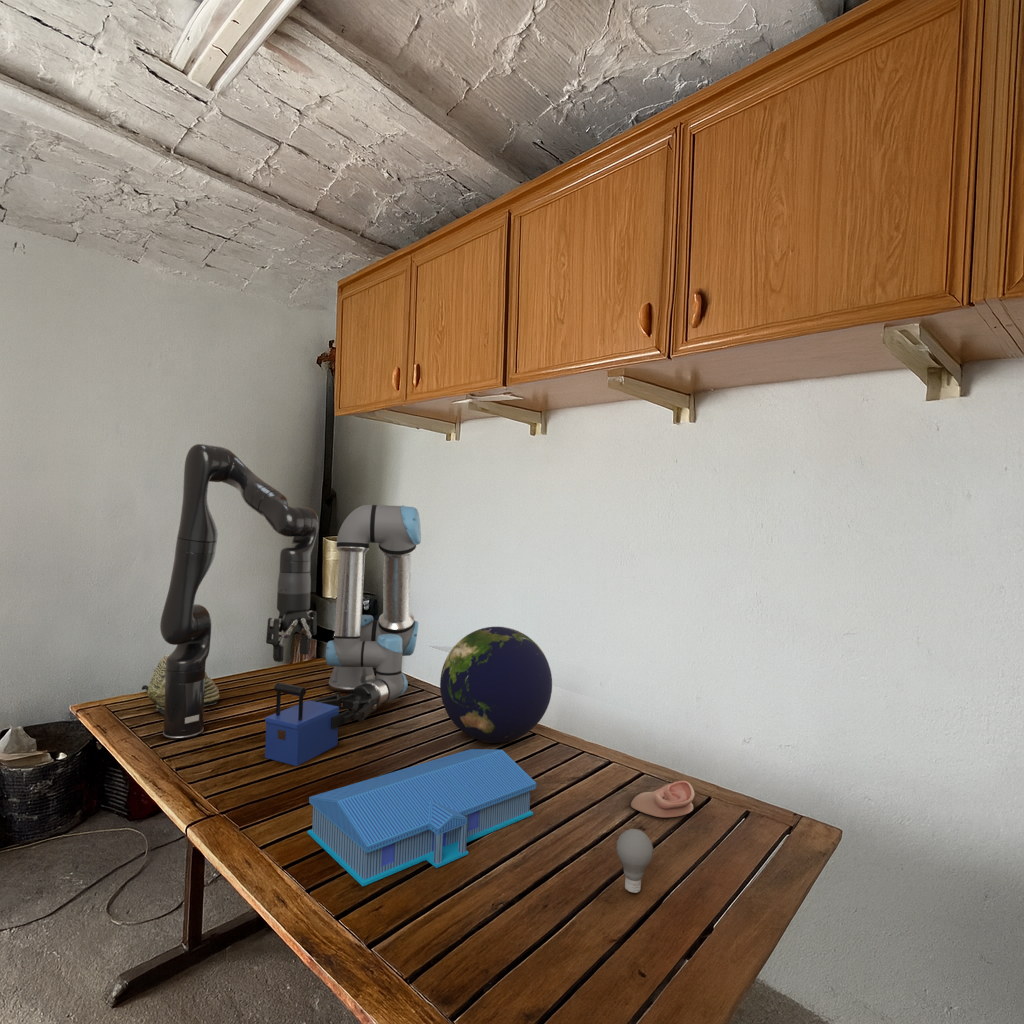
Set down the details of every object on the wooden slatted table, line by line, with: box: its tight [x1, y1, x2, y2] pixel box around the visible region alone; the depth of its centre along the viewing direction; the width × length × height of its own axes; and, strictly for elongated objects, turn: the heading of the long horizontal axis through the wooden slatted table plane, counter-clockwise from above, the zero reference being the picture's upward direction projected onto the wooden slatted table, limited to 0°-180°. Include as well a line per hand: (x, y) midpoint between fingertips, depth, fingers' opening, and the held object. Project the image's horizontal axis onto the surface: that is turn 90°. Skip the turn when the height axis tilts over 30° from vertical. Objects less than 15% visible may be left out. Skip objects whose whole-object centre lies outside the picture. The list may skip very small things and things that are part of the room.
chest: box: [264, 710, 340, 767], centre depth 157 cm, size 15×10×9 cm
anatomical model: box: [630, 780, 695, 818], centre depth 136 cm, size 13×4×12 cm
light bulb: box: [615, 828, 654, 894], centre depth 106 cm, size 6×6×10 cm
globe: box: [439, 625, 553, 744], centre depth 169 cm, size 30×30×30 cm
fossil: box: [147, 654, 221, 711], centre depth 185 cm, size 9×18×15 cm, turn 132°
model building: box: [307, 748, 538, 887], centre depth 123 cm, size 39×24×10 cm, turn 132°
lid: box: [264, 682, 340, 729], centre depth 156 cm, size 15×10×9 cm, turn 156°
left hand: (291, 657), depth 152 cm, fingers open, 8 cm apart
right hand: (315, 719), depth 161 cm, fingers closed on chest, 10 cm apart
